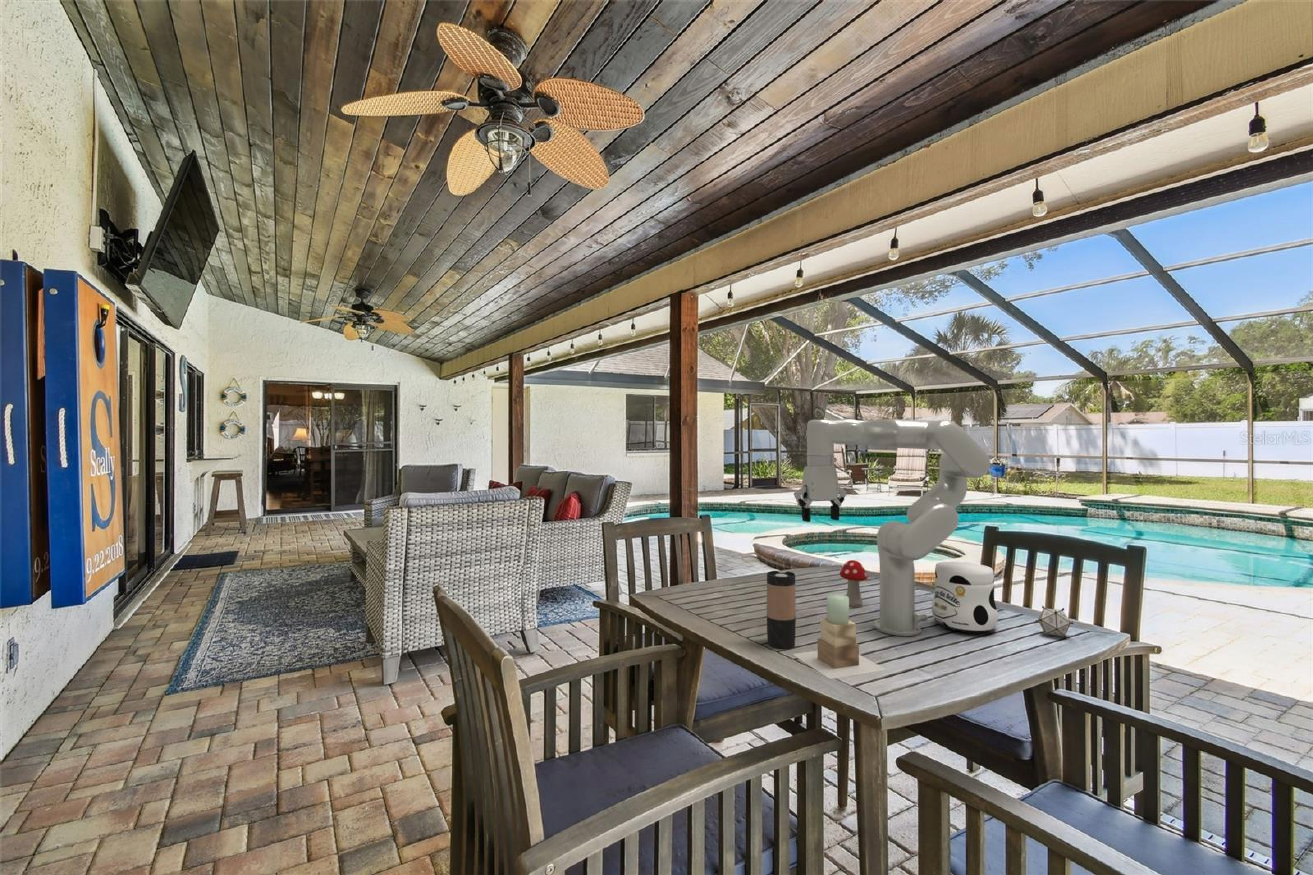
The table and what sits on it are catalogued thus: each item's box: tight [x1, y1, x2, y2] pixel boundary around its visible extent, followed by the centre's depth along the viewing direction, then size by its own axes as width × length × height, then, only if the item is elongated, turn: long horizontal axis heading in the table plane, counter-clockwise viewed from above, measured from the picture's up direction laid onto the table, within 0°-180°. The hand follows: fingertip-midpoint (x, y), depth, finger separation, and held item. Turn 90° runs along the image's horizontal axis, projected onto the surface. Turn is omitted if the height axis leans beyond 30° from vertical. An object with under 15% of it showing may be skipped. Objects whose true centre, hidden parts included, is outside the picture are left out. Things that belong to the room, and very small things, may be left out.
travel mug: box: [766, 570, 797, 651], centre depth 154 cm, size 8×8×20 cm
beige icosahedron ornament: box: [1035, 605, 1075, 640], centre depth 163 cm, size 9×8×10 cm
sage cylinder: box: [826, 593, 850, 625], centre depth 142 cm, size 5×5×6 cm
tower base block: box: [816, 637, 860, 669], centre depth 142 cm, size 7×7×5 cm
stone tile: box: [792, 650, 888, 680], centre depth 142 cm, size 16×16×1 cm
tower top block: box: [819, 617, 857, 647], centre depth 142 cm, size 6×6×5 cm
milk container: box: [931, 561, 999, 634], centre depth 170 cm, size 17×17×18 cm
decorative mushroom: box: [839, 559, 869, 608], centre depth 194 cm, size 10×9×15 cm
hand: (820, 520), depth 167 cm, fingers open, 9 cm apart
